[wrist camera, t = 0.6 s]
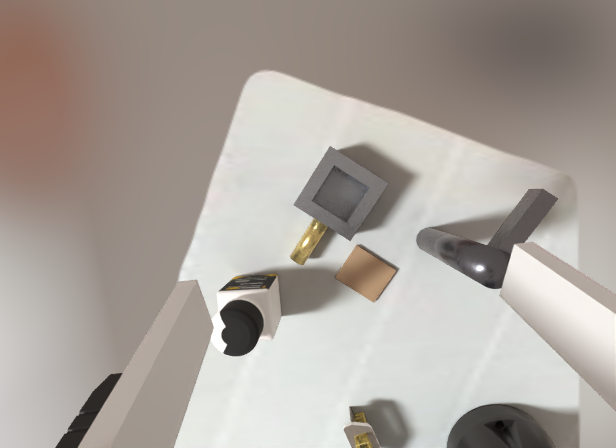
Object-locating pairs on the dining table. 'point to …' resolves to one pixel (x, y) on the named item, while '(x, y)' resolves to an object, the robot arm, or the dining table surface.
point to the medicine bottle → (246, 313)
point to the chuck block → (336, 200)
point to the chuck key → (495, 256)
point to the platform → (360, 432)
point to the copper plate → (365, 273)
